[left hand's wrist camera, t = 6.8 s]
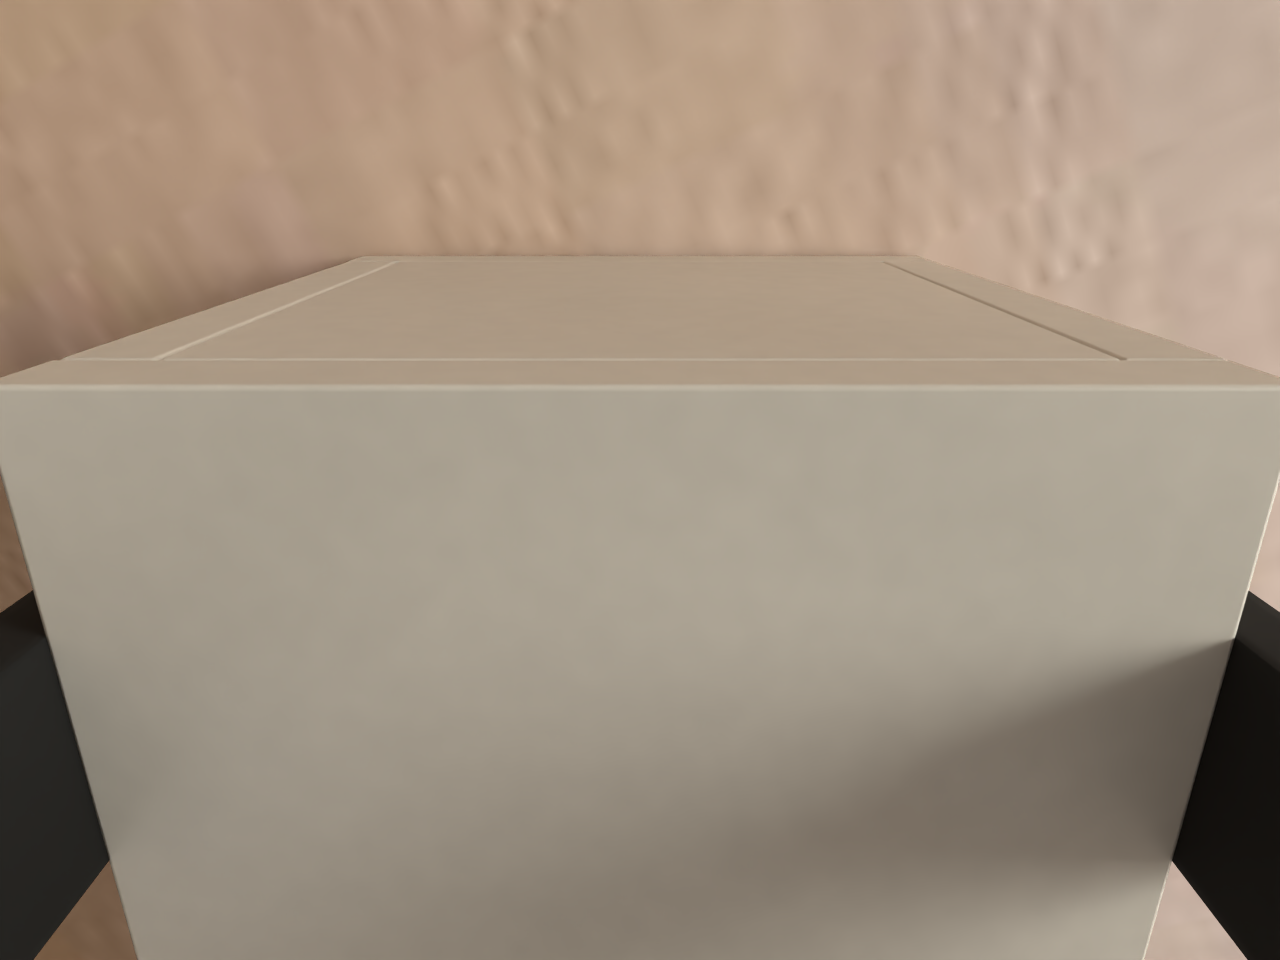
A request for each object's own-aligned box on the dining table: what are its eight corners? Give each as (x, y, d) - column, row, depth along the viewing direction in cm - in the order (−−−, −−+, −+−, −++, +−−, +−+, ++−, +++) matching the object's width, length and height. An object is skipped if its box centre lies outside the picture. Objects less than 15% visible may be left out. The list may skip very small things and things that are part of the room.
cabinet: (841, 943, 24) (989, 1513, 14) (438, 943, 24) (291, 1513, 14) (919, 255, 17) (1310, 384, 7) (361, 255, 17) (-28, 384, 7)
